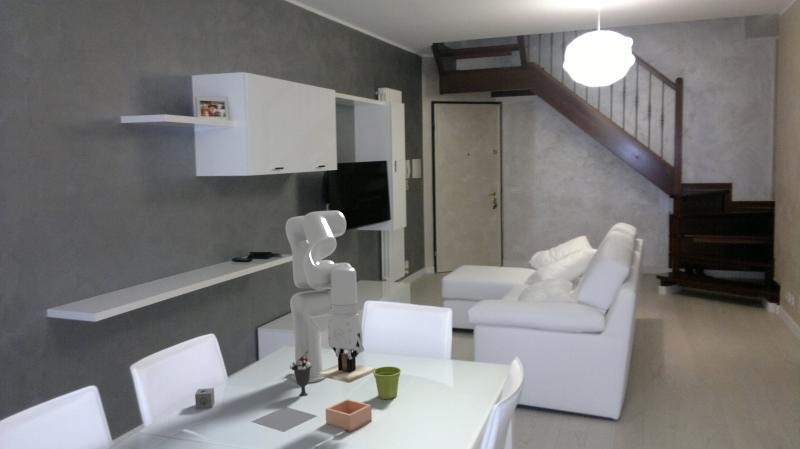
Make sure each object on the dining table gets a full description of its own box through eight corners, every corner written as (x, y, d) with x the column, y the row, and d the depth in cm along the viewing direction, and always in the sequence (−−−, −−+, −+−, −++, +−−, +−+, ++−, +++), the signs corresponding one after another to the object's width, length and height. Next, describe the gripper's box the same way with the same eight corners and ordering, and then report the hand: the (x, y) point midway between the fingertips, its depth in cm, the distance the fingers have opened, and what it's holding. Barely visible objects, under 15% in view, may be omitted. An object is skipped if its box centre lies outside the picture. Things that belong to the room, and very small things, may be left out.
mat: (251, 423, 197) (251, 421, 197) (285, 408, 208) (285, 406, 208) (283, 433, 188) (283, 431, 188) (317, 417, 200) (317, 415, 200)
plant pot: (398, 402, 211) (398, 375, 210) (370, 400, 213) (369, 374, 212) (404, 391, 220) (403, 366, 219) (377, 390, 222) (376, 365, 221)
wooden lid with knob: (318, 375, 192) (317, 355, 191) (345, 365, 201) (344, 346, 201) (349, 383, 185) (348, 362, 184) (375, 371, 194) (374, 351, 194)
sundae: (317, 393, 221) (315, 350, 219) (307, 400, 214) (305, 356, 213) (299, 392, 223) (297, 349, 221) (289, 398, 216) (287, 354, 215)
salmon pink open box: (326, 425, 194) (325, 408, 193) (347, 414, 201) (347, 398, 201) (350, 432, 188) (350, 415, 188) (371, 421, 196) (371, 405, 195)
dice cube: (199, 403, 215) (198, 389, 214) (214, 402, 215) (213, 388, 215) (195, 409, 210) (195, 394, 209) (211, 408, 210) (210, 393, 210)
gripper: (315, 308, 193) (318, 369, 195) (357, 314, 184) (359, 378, 185) (332, 303, 199) (335, 362, 201) (374, 309, 190) (376, 371, 191)
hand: (347, 369), depth 193 cm, fingers closed on wooden lid with knob, 2 cm apart
